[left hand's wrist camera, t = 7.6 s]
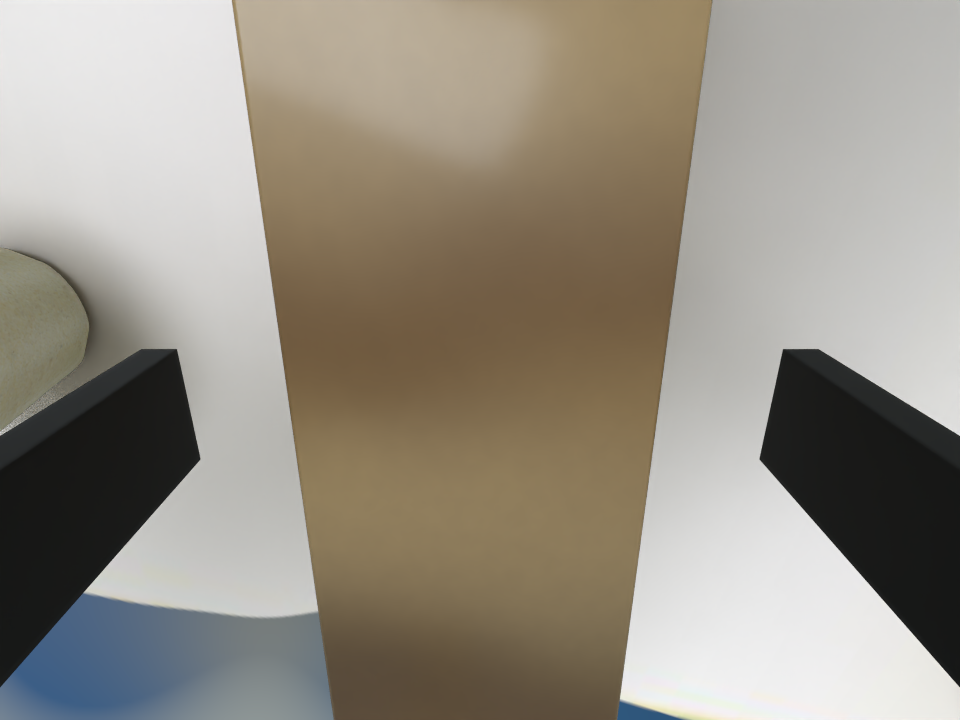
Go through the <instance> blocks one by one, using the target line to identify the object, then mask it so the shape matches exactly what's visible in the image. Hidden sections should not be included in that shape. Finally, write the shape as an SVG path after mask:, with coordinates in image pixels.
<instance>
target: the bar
mask: <svg viewBox="0 0 960 720" xmlns="http://www.w3.org/2000/svg"><path fill="white" fill-rule="evenodd" d="M232 5H233V12H234V19H235V26H236V33H237V40H238V47H239V54H240V61H241V68H242V75H243V82H244V89H245V96H246V103H247V110H248V118H249V125H250V132H251V139H252V146H253V153H254V160H255V167H256V174H257V181H258V188H259V195H260V202H261V209H262V216H263V223H264V230H265V238H266V245H267V252H268V259H269V266H270V273H271V280H272V287H273V294H274V301H275V308H276V315H277V322H278V329H279V336H280V343H281V350H282V357H283V365H284V372H285V379H286V386H287V393H288V400H289V407H290V414H291V421H292V428H293V435H294V442H295V449H296V456H297V463H298V470H299V477H300V485H301V492H302V499H303V506H304V513H305V520H306V527H307V534H308V541H309V548H310V555H311V562H312V569H313V576H314V583H315V590H316V597H317V604H318V612H319V618H320V626H321V633H322V639H323V647H324V654H325V661H326V668H327V675H328V682H329V689H330V696H331V703H332V710H333V717H334V720H617V716H618V708H619V701H620V693H621V686H622V678H623V671H624V663H625V655H626V648H627V640H628V633H629V625H630V618H631V610H632V603H633V595H634V588H635V580H636V573H637V565H638V558H639V550H640V542H641V535H642V527H643V520H644V512H645V505H646V497H647V490H648V482H649V475H650V467H651V460H652V452H653V445H654V437H655V429H656V422H657V414H658V407H659V399H660V392H661V384H662V377H663V369H664V362H665V354H666V347H667V339H668V332H669V324H670V317H671V309H672V301H673V294H674V286H675V279H676V271H677V264H678V256H679V249H680V241H681V234H682V226H683V219H684V211H685V204H686V196H687V188H688V181H689V173H690V166H691V158H692V151H693V143H694V136H695V128H696V121H697V113H698V106H699V98H700V91H701V83H702V75H703V68H704V60H705V53H706V45H707V38H708V30H709V23H710V15H711V8H712V0H232Z"/></svg>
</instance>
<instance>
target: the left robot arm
mask: <svg viewBox="0 0 960 720" xmlns="http://www.w3.org/2000/svg"><path fill="white" fill-rule="evenodd" d="M199 460H200V454H199V450H198V445H197V441H196V436H195V431H194V427H193V422H192V417H191V413H190V408H189V403H188V399H187V394H186V389H185V385H184V380H183V375H182V371H181V366H180V362H179V357H178V352H177V349H141V350H139V351H138V352H136V353H135V354H133V355H131V356H130V357H128V358H126V359H125V360H123V361H122V362H120V363H118V364H117V365H115V366H113V367H112V368H110V369H109V370H107V371H105V372H104V373H102V374H100V375H99V376H97V377H95V378H94V379H92V380H91V381H89V382H87V383H86V384H84V385H82V386H81V387H79V388H78V389H76V390H74V391H73V392H71V393H69V394H68V395H66V396H65V397H63V398H61V399H60V400H58V401H56V402H55V403H53V404H52V405H50V406H48V407H47V408H45V409H43V410H42V411H40V412H39V413H37V414H35V415H34V416H32V417H30V418H29V419H27V420H26V421H24V422H22V423H21V424H19V425H17V426H16V427H14V428H12V429H11V430H9V431H8V432H6V433H4V434H3V435H1V436H0V687H1V686H2V685H3V683H4V682H5V681H6V680H7V679H8V678H9V677H10V675H11V674H12V673H13V672H14V671H15V670H16V669H17V668H18V666H19V665H20V664H21V663H22V662H23V661H24V660H25V658H26V657H27V656H28V655H29V654H30V653H31V652H32V650H33V649H34V648H35V647H36V646H37V645H38V644H39V642H40V641H41V640H42V639H43V638H44V637H45V636H46V635H47V633H48V632H49V631H50V630H51V629H52V628H53V627H54V625H55V624H56V623H57V622H58V621H59V620H60V619H61V617H62V616H63V615H64V614H65V613H66V612H67V611H68V609H69V608H70V607H71V606H72V605H73V604H74V603H75V602H76V600H77V599H78V598H79V597H80V596H81V595H82V594H83V592H84V591H85V590H86V589H87V588H88V587H89V586H90V584H91V583H92V582H93V581H94V580H95V579H96V578H97V577H98V575H99V574H100V573H101V572H102V571H103V570H104V569H105V567H106V566H107V565H108V564H109V563H110V562H111V561H112V559H113V558H114V557H115V556H116V555H117V554H118V553H119V551H120V550H121V549H122V548H123V547H124V546H125V545H126V544H127V542H128V541H129V540H130V539H131V538H132V537H133V536H134V534H135V533H136V532H137V531H138V530H139V529H140V528H141V526H142V525H143V524H144V523H145V522H146V521H147V520H148V518H149V517H150V516H151V515H152V514H153V513H154V512H155V511H156V509H157V508H158V507H159V506H160V505H161V504H162V503H163V501H164V500H165V499H166V498H167V497H168V496H169V495H170V493H171V492H172V491H173V490H174V489H175V488H176V487H177V485H178V484H179V483H180V482H181V481H182V480H183V479H184V478H185V476H186V475H187V474H188V473H189V472H190V471H191V470H192V468H193V467H194V466H195V465H196V464H197V463H198V462H199ZM760 460H761V462H762V463H763V464H764V465H765V466H766V467H767V468H768V470H769V471H770V472H771V473H772V474H773V475H774V476H775V478H776V479H777V480H778V481H779V482H780V483H781V484H782V485H783V487H784V488H785V489H786V490H787V491H788V492H789V493H790V495H791V496H792V497H793V498H794V499H795V500H796V501H797V503H798V504H799V505H800V506H801V507H802V508H803V509H804V511H805V512H806V513H807V514H808V515H809V516H810V517H811V518H812V520H813V521H814V522H815V523H816V524H817V525H818V526H819V528H820V529H821V530H822V531H823V532H824V533H825V534H826V536H827V537H828V538H829V539H830V540H831V541H832V542H833V544H834V545H835V546H836V547H837V548H838V549H839V550H840V551H841V553H842V554H843V555H844V556H845V557H846V558H847V559H848V561H849V562H850V563H851V564H852V565H853V566H854V567H855V569H856V570H857V571H858V572H859V573H860V574H861V575H862V577H863V578H864V579H865V580H866V581H867V582H868V583H869V584H870V586H871V587H872V588H873V589H874V590H875V591H876V592H877V594H878V595H879V596H880V597H881V598H882V599H883V600H884V602H885V603H886V604H887V605H888V606H889V607H890V608H891V610H892V611H893V612H894V613H895V614H896V615H897V616H898V617H899V619H900V620H901V621H902V622H903V623H904V624H905V625H906V627H907V628H908V629H909V630H910V631H911V632H912V633H913V635H914V636H915V637H916V638H917V639H918V640H919V641H920V643H921V644H922V645H923V646H924V647H925V648H926V649H927V650H928V652H929V653H930V654H931V655H932V656H933V657H934V658H935V660H936V661H937V662H938V663H939V664H940V665H941V666H942V668H943V669H944V670H945V671H946V672H947V673H948V674H949V676H950V677H951V678H952V679H953V680H954V681H955V682H956V683H957V685H958V686H959V687H960V436H959V435H957V434H956V433H954V432H952V431H951V430H949V429H948V428H946V427H944V426H943V425H941V424H939V423H938V422H936V421H934V420H933V419H931V418H930V417H928V416H926V415H925V414H923V413H921V412H920V411H918V410H917V409H915V408H913V407H912V406H910V405H908V404H907V403H905V402H904V401H902V400H900V399H899V398H897V397H895V396H894V395H892V394H891V393H889V392H887V391H886V390H884V389H882V388H881V387H879V386H878V385H876V384H874V383H873V382H871V381H869V380H868V379H866V378H865V377H863V376H861V375H860V374H858V373H856V372H855V371H853V370H851V369H850V368H848V367H847V366H845V365H843V364H842V363H840V362H838V361H837V360H835V359H834V358H832V357H830V356H829V355H827V354H825V353H824V352H822V351H821V350H819V349H783V352H782V357H781V362H780V366H779V371H778V375H777V380H776V385H775V389H774V394H773V399H772V403H771V408H770V413H769V417H768V422H767V427H766V431H765V436H764V441H763V445H762V450H761V454H760Z"/></svg>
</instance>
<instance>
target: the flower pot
mask: <svg viewBox="0 0 960 720" xmlns="http://www.w3.org/2000/svg"><path fill="white" fill-rule="evenodd" d="M88 333H89V322H88V318H87V315H86V312H85V309H84V307H83V305H82V303H81V301H80V299H79V297H78V296H77V294H76V293H75V291H74V290H73V288H72V287H71V286H70V285H69V284H68V282H67V281H66V280H65V279H64V278H63V277H62V276H61V275H60V274H59V273H57V272H56V271H55V270H54V269H53V268H51V267H50V266H49V265H47V264H45V263H43V262H41V261H38V260H35V259H33V258H30V257H28V256H25V255H22V254H19V253H17V252H15V251H12V250H9V249H4V248H0V431H1V430H2V429H4V428H5V427H6V426H7V425H8V424H9V423H11V422H12V421H13V420H14V419H15V418H17V417H18V416H19V415H20V414H21V413H23V412H24V411H25V410H26V409H27V408H29V407H30V406H31V405H32V404H33V403H34V402H36V401H37V400H38V399H39V398H40V397H41V396H43V395H44V394H45V393H46V392H47V391H49V390H50V389H51V388H52V387H54V386H55V385H56V384H57V383H58V382H60V381H61V380H62V379H63V378H65V377H66V376H67V375H69V374H70V373H71V372H73V371H74V370H75V369H76V368H77V367H78V366H79V364H80V363H81V362H82V360H83V358H84V355H85V349H86V344H87V339H88Z"/></svg>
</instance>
